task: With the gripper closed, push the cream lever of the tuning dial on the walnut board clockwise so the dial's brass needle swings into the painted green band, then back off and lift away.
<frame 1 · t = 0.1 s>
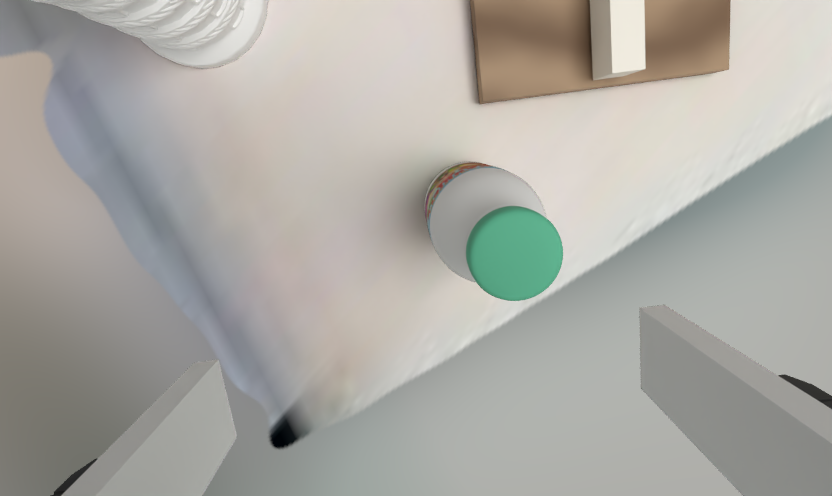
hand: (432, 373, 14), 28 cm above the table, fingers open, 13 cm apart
milk bottle: (466, 204, 41), on the table
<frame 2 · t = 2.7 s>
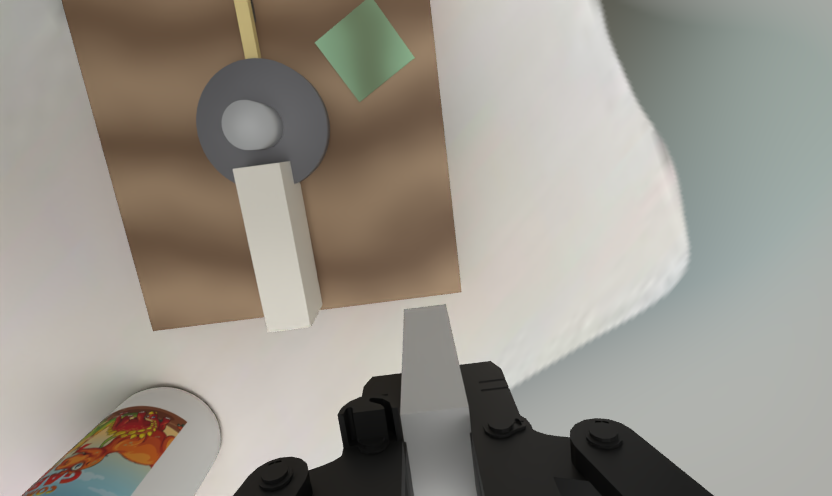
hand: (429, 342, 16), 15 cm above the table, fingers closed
milk bottle: (172, 429, 34), on the table
board: (282, 136, 29), on the table
tuning dial: (261, 140, 25), point 4 cm above the table, hinge at 0.0°
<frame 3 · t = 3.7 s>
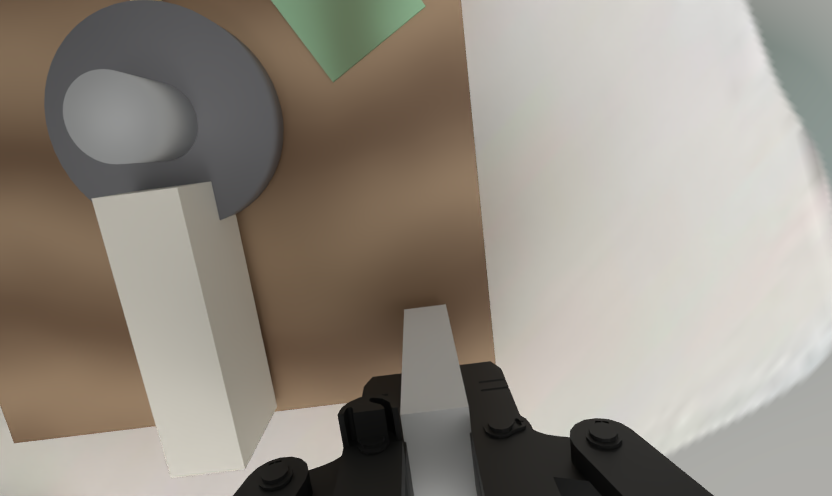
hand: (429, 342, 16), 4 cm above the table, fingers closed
board: (214, 140, 18), on the table
tuning dial: (156, 146, 14), point 4 cm above the table, hinge at 0.0°
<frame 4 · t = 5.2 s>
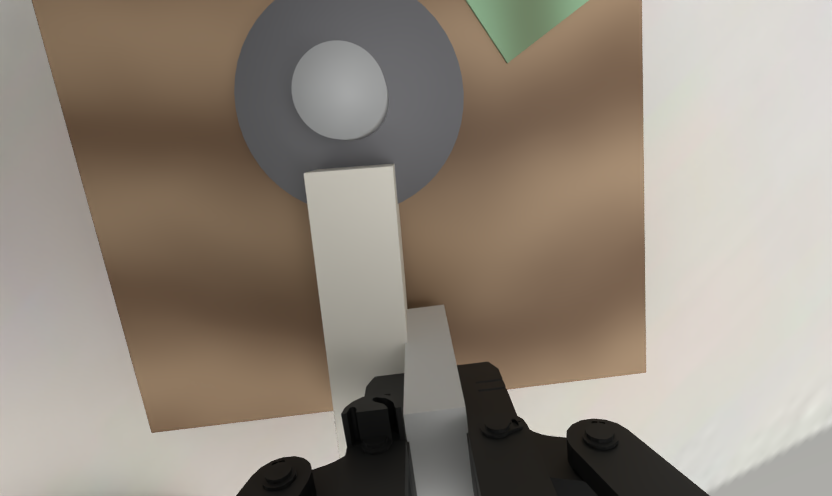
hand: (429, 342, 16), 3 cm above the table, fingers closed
board: (363, 123, 18), on the table
tuning dial: (350, 124, 14), point 4 cm above the table, hinge at -2.6°, touching gripper
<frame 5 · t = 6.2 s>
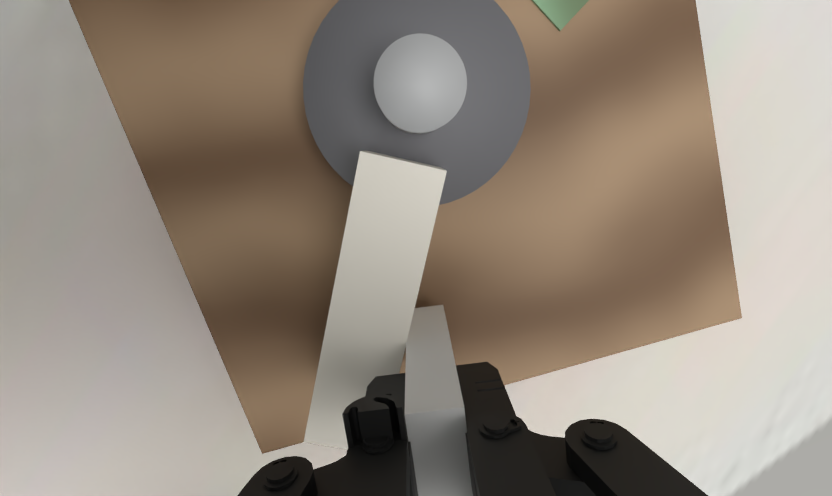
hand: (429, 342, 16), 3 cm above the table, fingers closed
board: (418, 118, 18), on the table
tuning dial: (412, 117, 14), point 4 cm above the table, hinge at -29.3°, touching gripper
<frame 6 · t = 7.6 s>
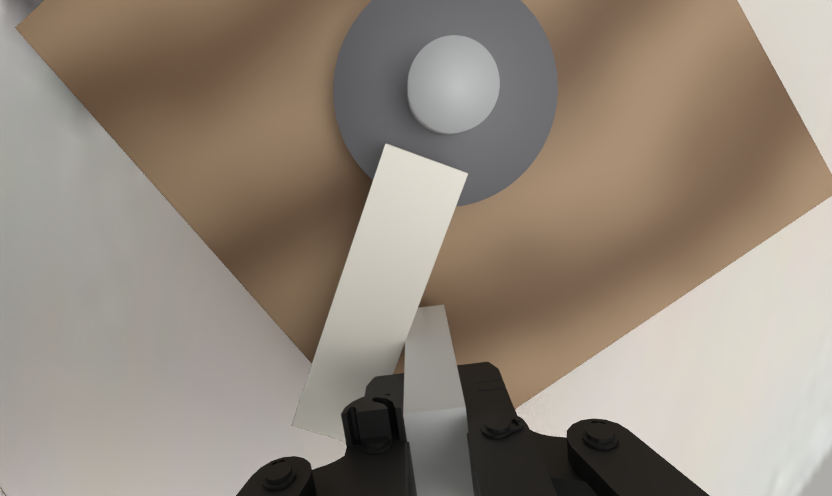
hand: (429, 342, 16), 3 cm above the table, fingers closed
board: (445, 116, 18), on the table
tuning dial: (438, 117, 14), point 4 cm above the table, hinge at -56.8°, touching gripper
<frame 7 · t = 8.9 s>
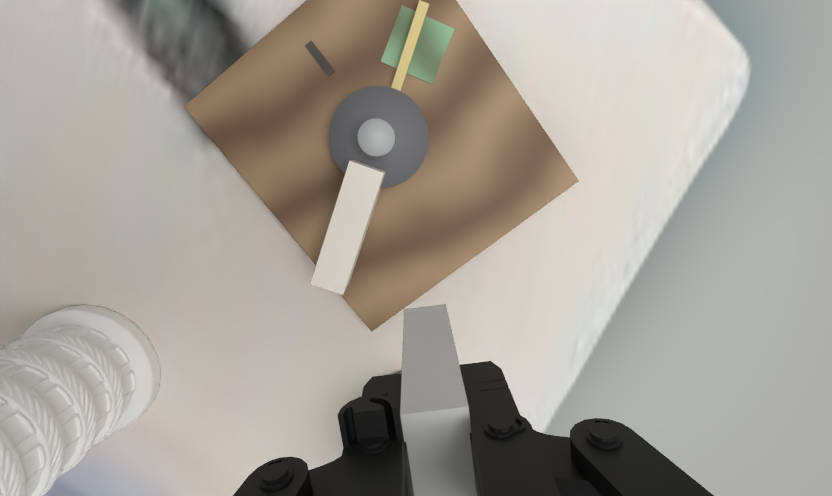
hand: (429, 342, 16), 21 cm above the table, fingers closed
board: (386, 144, 36), on the table
tuning dial: (374, 148, 32), point 4 cm above the table, hinge at -56.8°
decorative container: (95, 366, 40), on the table
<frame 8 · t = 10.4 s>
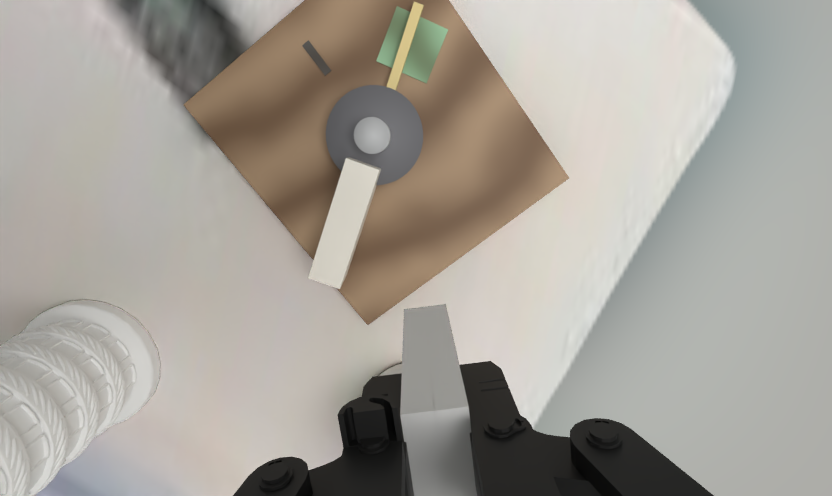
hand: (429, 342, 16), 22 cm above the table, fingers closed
board: (382, 142, 37), on the table
tuning dial: (370, 146, 32), point 4 cm above the table, hinge at -56.8°
decorative container: (96, 360, 41), on the table
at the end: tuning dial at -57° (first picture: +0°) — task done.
